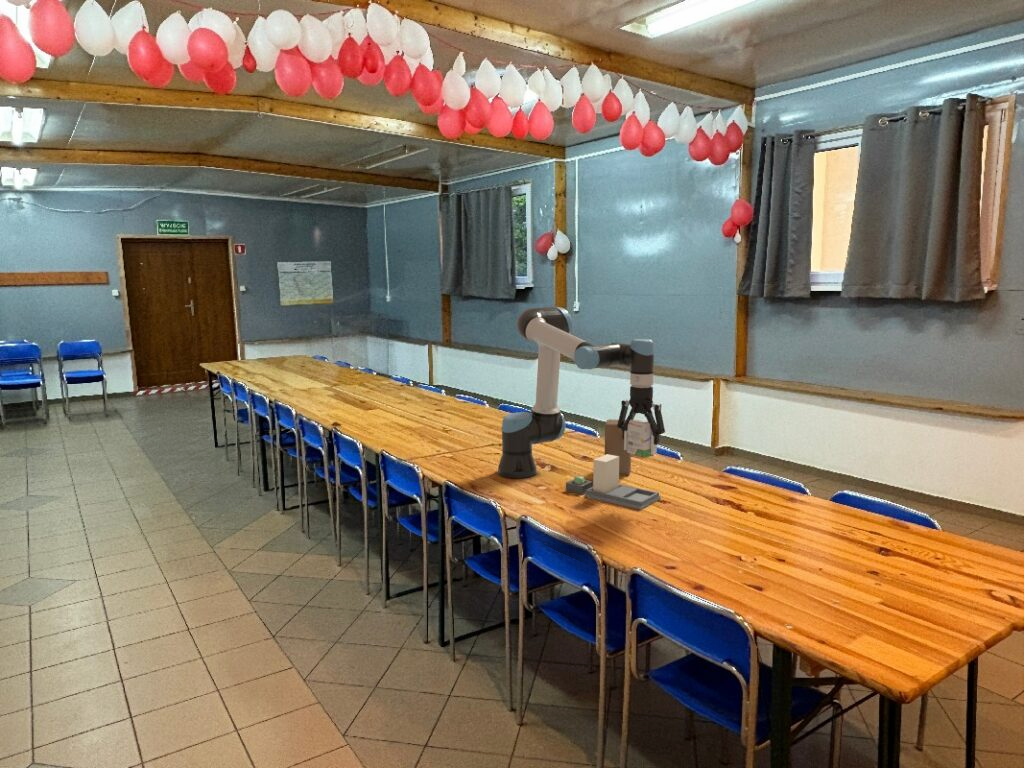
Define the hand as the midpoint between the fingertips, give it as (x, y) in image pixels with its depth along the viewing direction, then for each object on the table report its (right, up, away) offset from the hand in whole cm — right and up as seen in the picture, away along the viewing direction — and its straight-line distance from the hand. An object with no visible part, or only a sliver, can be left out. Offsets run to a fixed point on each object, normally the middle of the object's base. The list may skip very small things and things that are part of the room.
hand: (640, 451), depth 228 cm
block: (-2, -12, +38) cm, 40 cm away
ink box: (0, -1, 0) cm, 1 cm away
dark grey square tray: (-19, -16, +16) cm, 29 cm away
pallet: (-5, -17, +7) cm, 19 cm away
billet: (-10, -15, +11) cm, 21 cm away
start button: (-19, -15, +16) cm, 29 cm away
